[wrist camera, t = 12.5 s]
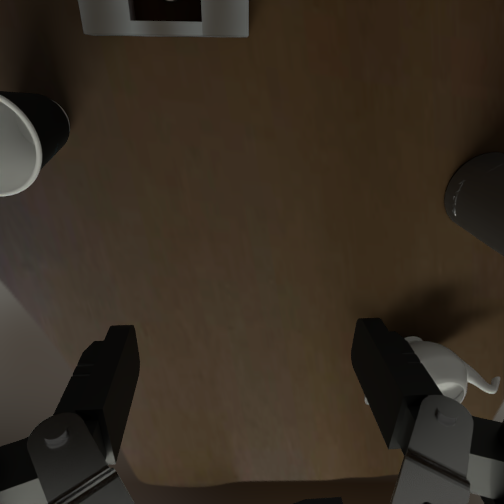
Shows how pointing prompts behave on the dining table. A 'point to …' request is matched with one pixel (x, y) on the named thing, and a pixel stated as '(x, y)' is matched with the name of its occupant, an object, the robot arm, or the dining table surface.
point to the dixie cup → (28, 137)
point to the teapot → (448, 370)
